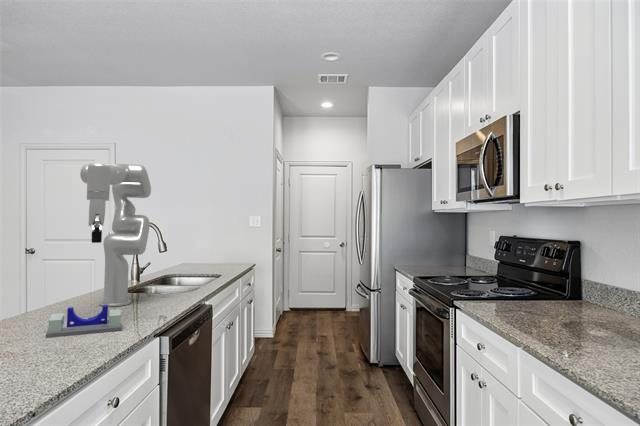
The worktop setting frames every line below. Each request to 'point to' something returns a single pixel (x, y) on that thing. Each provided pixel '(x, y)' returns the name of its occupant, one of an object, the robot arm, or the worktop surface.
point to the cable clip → (85, 322)
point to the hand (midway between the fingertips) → (96, 241)
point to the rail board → (61, 329)
